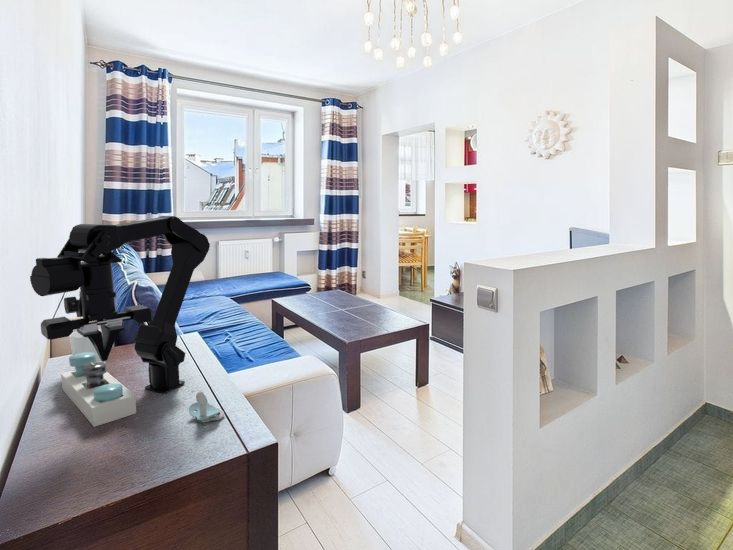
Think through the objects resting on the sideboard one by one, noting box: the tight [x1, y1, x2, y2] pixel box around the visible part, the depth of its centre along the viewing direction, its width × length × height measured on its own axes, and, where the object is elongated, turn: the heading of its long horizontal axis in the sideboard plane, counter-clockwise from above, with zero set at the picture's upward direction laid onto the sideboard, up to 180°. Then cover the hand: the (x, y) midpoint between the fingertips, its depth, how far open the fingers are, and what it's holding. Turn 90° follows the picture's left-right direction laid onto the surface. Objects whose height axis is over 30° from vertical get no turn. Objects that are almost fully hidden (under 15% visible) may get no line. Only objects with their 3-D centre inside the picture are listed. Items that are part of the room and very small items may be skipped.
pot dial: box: [81, 362, 108, 389], centre depth 94 cm, size 5×5×5 cm
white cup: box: [68, 328, 107, 370], centre depth 112 cm, size 8×8×10 cm
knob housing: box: [60, 369, 137, 428], centre depth 94 cm, size 25×8×4 cm, turn 47°
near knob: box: [93, 383, 123, 403], centre depth 88 cm, size 5×5×5 cm
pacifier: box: [188, 390, 225, 423], centre depth 87 cm, size 7×6×6 cm
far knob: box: [68, 352, 96, 377], centre depth 100 cm, size 5×5×5 cm
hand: (104, 360), depth 87 cm, fingers closed
